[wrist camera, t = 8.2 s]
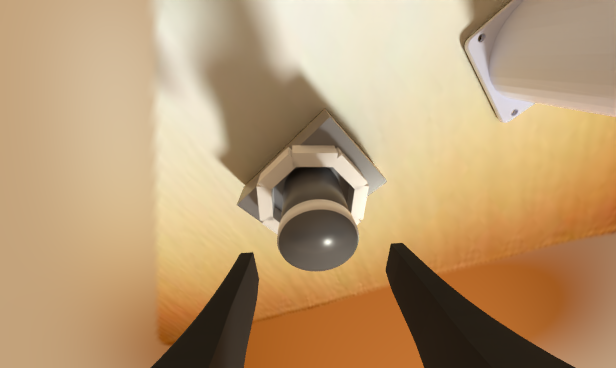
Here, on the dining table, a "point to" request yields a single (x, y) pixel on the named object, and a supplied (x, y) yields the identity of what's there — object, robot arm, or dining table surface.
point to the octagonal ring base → (313, 153)
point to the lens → (315, 221)
